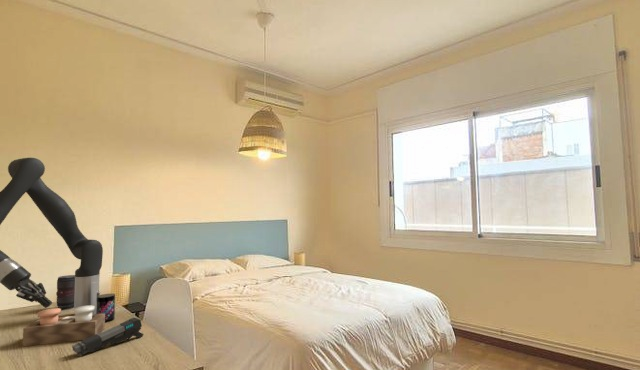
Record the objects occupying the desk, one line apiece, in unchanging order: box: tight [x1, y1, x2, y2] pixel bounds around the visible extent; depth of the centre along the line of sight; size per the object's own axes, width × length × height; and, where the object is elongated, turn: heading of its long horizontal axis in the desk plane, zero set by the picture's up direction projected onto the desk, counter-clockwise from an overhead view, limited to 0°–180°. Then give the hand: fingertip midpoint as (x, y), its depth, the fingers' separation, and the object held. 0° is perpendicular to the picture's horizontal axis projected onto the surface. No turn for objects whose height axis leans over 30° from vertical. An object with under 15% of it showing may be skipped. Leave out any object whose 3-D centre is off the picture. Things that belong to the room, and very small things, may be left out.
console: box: [22, 314, 106, 347], centre depth 125 cm, size 22×10×6 cm, turn 105°
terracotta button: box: [37, 307, 62, 325], centre depth 124 cm, size 7×7×7 cm
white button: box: [72, 305, 95, 322], centre depth 127 cm, size 7×7×7 cm
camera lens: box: [56, 274, 75, 311], centre depth 164 cm, size 8×8×15 cm
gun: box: [71, 317, 144, 357], centre depth 116 cm, size 4×20×10 cm, turn 142°
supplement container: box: [96, 293, 116, 324], centre depth 144 cm, size 7×7×10 cm
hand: (49, 305), depth 124 cm, fingers closed
